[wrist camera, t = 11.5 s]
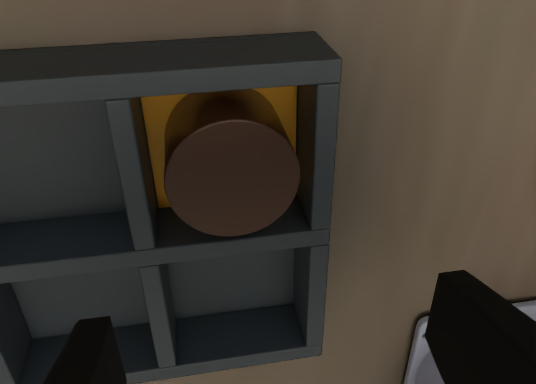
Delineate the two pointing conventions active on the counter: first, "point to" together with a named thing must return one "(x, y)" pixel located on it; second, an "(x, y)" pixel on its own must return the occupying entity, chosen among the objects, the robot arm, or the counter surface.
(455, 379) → the robot arm
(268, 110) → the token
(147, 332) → the grid
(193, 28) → the counter surface
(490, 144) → the counter surface
